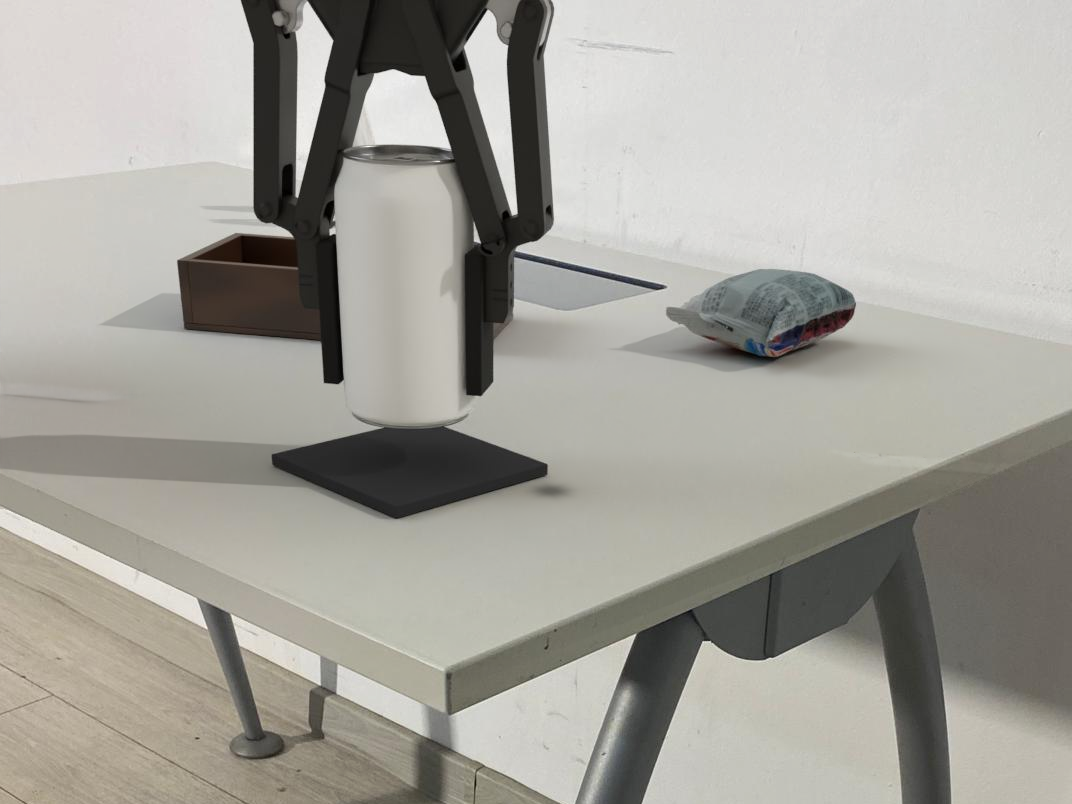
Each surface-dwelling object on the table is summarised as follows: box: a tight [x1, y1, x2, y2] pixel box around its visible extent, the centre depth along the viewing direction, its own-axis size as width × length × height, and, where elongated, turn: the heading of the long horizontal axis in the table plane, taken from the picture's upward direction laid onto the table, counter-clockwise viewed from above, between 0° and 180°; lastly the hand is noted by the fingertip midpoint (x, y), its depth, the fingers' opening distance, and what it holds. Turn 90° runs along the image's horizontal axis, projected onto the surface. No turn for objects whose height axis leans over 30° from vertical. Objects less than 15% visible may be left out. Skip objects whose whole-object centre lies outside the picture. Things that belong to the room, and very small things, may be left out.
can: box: [334, 144, 476, 430], centre depth 69 cm, size 6×6×12 cm
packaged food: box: [665, 268, 857, 358], centre depth 97 cm, size 9×12×5 cm
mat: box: [271, 426, 549, 519], centre depth 73 cm, size 10×10×1 cm
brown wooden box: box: [176, 232, 514, 341], centre depth 98 cm, size 20×10×4 cm, turn 81°
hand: (409, 381), depth 71 cm, fingers closed on can, 6 cm apart
